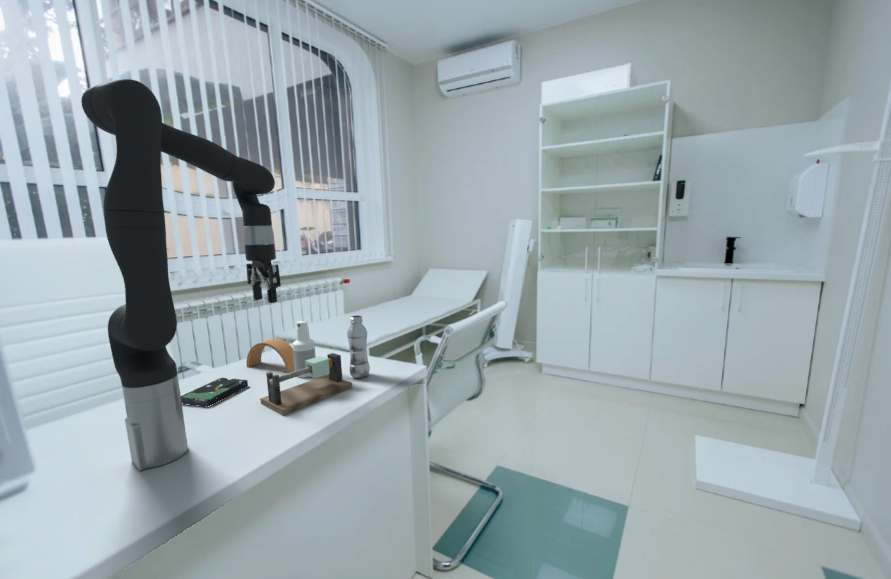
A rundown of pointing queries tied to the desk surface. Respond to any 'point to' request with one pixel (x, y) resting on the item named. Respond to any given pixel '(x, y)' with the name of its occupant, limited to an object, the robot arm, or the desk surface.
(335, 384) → the rod stand
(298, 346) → the spray bottle
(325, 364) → the sleeve
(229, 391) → the disk drive
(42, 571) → the desk surface
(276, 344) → the arch
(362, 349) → the plastic bottle
